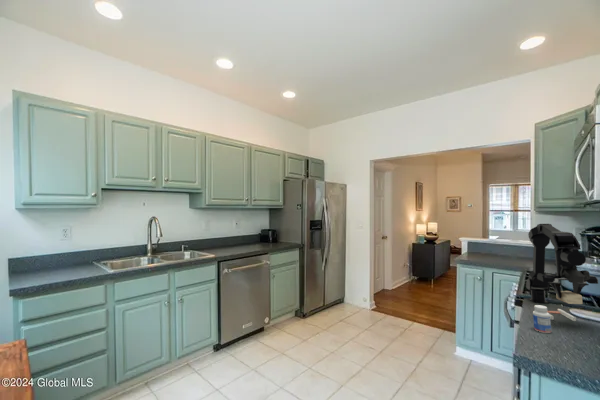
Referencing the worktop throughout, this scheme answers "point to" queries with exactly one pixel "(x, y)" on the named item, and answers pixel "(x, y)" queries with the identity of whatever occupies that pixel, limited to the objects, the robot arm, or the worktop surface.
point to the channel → (562, 314)
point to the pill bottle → (541, 319)
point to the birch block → (570, 297)
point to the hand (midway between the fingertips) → (568, 298)
